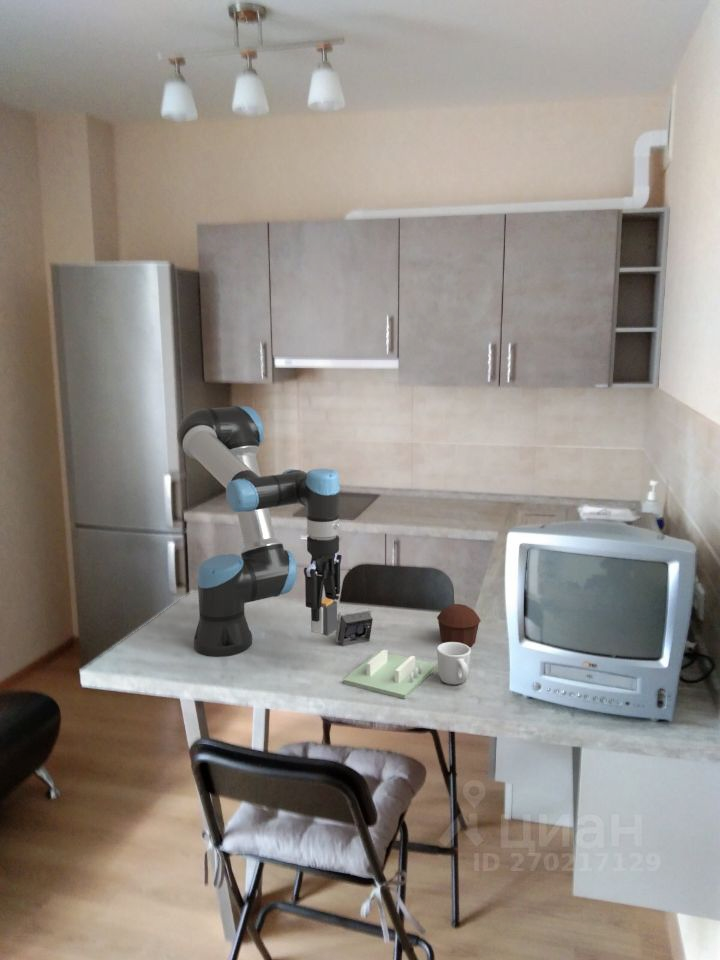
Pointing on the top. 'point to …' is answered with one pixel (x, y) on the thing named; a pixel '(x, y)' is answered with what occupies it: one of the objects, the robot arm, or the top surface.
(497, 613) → the top surface
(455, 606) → the muffin
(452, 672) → the cup
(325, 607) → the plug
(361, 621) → the electrical switch
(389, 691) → the board
